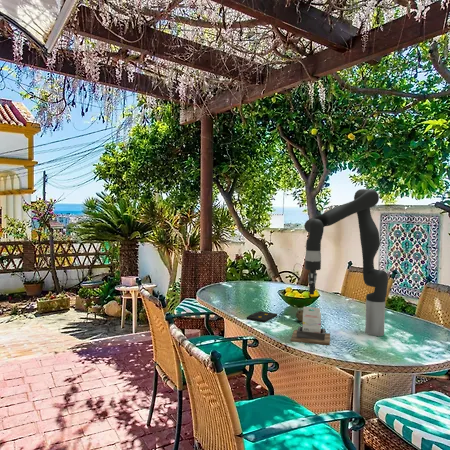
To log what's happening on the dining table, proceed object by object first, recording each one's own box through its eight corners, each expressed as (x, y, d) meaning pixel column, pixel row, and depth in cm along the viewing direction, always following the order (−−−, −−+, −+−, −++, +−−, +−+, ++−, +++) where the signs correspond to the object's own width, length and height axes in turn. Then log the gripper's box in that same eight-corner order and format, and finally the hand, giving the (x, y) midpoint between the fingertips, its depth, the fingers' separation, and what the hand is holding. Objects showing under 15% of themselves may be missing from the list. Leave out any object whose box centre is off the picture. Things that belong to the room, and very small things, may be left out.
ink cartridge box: (320, 335, 192) (321, 306, 192) (319, 338, 188) (320, 308, 187) (303, 333, 195) (304, 304, 195) (301, 336, 191) (302, 306, 190)
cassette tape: (260, 314, 239) (260, 310, 239) (277, 316, 233) (277, 313, 233) (246, 320, 224) (246, 316, 224) (264, 323, 218) (264, 319, 218)
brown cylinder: (293, 321, 222) (294, 309, 222) (302, 319, 226) (302, 308, 226) (314, 328, 210) (314, 315, 210) (322, 326, 214) (322, 314, 214)
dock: (294, 331, 202) (294, 324, 201) (330, 335, 197) (330, 327, 197) (290, 341, 186) (291, 332, 186) (329, 345, 181) (330, 336, 181)
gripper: (306, 257, 198) (305, 289, 199) (304, 261, 185) (303, 295, 185) (321, 258, 196) (320, 290, 197) (320, 261, 183) (319, 296, 183)
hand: (312, 292), depth 191 cm, fingers open, 8 cm apart
